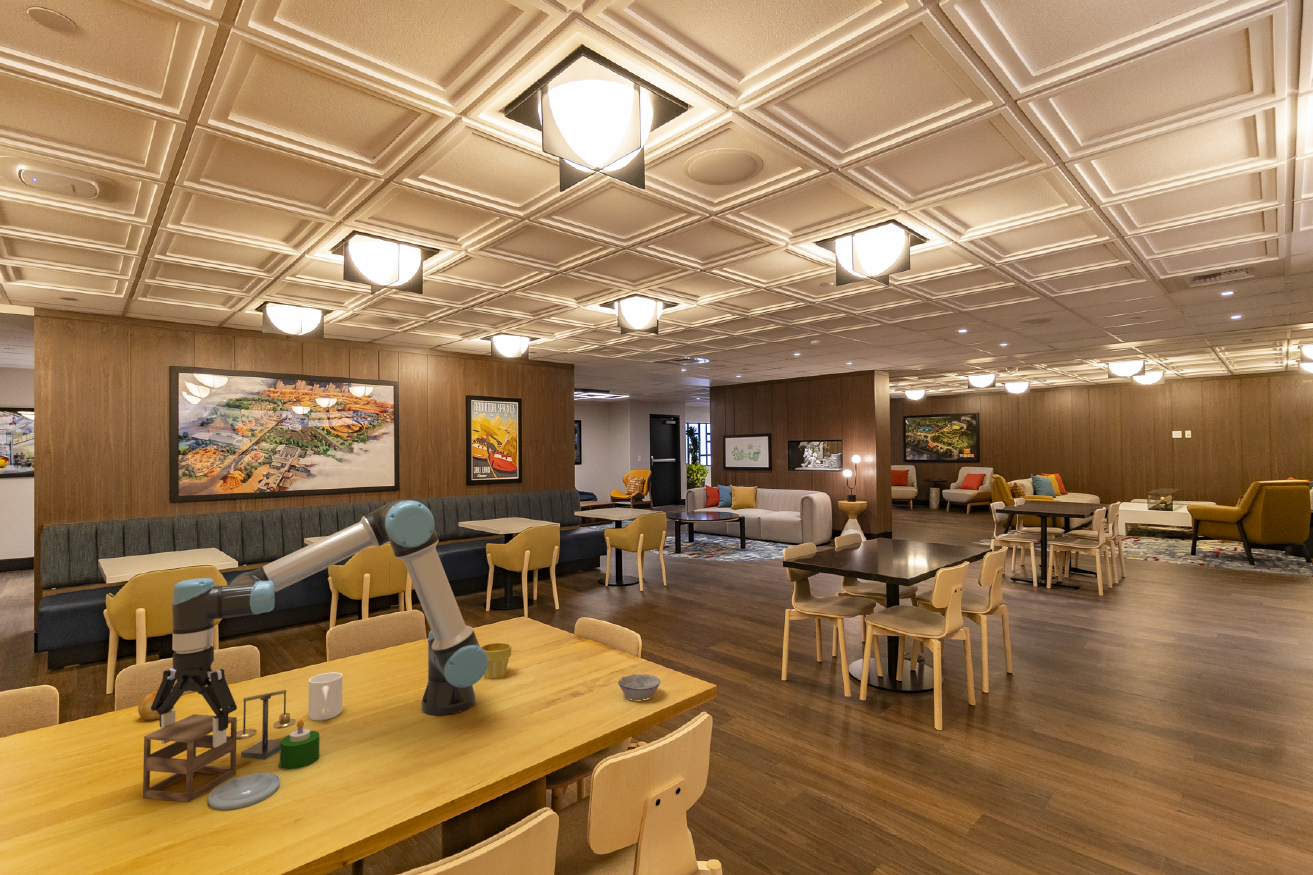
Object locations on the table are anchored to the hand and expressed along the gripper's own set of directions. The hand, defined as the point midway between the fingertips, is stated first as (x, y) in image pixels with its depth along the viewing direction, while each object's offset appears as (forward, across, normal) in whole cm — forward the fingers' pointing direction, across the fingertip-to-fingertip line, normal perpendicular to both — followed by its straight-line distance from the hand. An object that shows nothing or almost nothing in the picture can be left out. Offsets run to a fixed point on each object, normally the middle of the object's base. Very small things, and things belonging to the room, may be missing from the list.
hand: (193, 743), depth 138 cm
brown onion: (+9, +45, -31) cm, 56 cm away
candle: (+10, -16, -14) cm, 23 cm away
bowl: (+11, -90, -66) cm, 112 cm away
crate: (+9, 0, 0) cm, 9 cm away
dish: (+9, -15, +1) cm, 17 cm away
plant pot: (+11, -38, -77) cm, 86 cm away
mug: (+10, -4, -38) cm, 39 cm away
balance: (+9, -3, -17) cm, 19 cm away
